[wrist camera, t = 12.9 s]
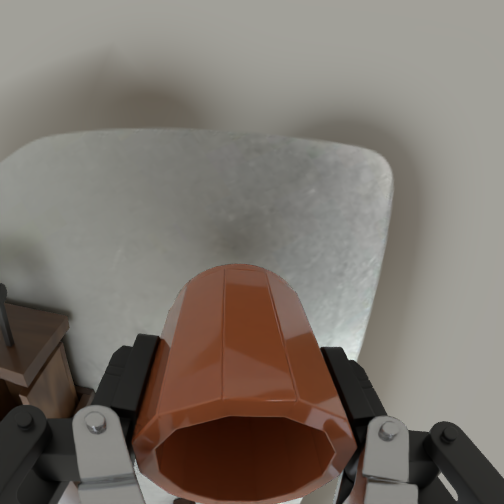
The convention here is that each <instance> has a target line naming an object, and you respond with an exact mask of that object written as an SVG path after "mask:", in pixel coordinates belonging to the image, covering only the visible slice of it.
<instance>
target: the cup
mask: <svg viewBox="0 0 504 504" xmlns="http://www.w3.org/2000/svg"><path fill="white" fill-rule="evenodd" d="M131 443H132V447H133V451H134V454H135V458H136V461H137V465H138V468H139V471H140V473H142V474H143V475H144V476H145V477H147V478H148V479H149V480H151V481H152V482H153V483H155V484H156V485H157V486H159V487H160V488H162V489H163V490H164V491H166V492H167V493H169V494H172V495H174V496H177V497H181V498H184V499H187V500H191V501H194V502H198V503H201V504H277V503H282V502H286V501H290V500H293V499H297V498H301V497H304V496H306V495H308V494H309V493H311V492H313V491H315V490H316V489H318V488H320V487H322V486H323V485H325V484H327V483H328V482H330V481H331V480H333V479H335V478H336V477H338V476H339V475H340V474H341V473H342V471H343V470H344V468H345V467H346V465H347V464H348V462H349V461H350V459H351V458H352V456H353V454H354V453H355V451H356V449H357V447H358V445H357V443H356V440H355V437H354V435H353V432H352V429H351V426H350V424H349V421H348V418H347V416H346V413H345V411H344V408H343V406H342V403H341V401H340V398H339V395H338V393H337V390H336V388H335V385H334V383H333V380H332V378H331V375H330V373H329V370H328V368H327V365H326V363H325V360H324V358H323V355H322V353H321V350H320V348H319V346H318V343H317V341H316V338H315V336H314V333H313V331H312V328H311V326H310V324H309V321H308V319H307V316H306V314H305V311H304V309H303V307H302V304H301V302H300V299H299V297H298V295H297V293H296V292H295V291H294V290H293V288H292V287H291V286H290V285H289V284H288V283H287V282H286V281H285V280H284V279H282V278H281V277H280V276H278V275H277V274H275V273H273V272H271V271H269V270H267V269H264V268H261V267H258V266H254V265H247V264H227V265H222V266H217V267H214V268H211V269H208V270H206V271H204V272H202V273H200V274H198V275H197V276H195V277H194V278H192V279H191V280H190V281H189V282H188V283H186V284H185V285H184V287H183V288H182V289H181V290H180V292H179V293H178V295H177V297H176V298H175V301H174V303H173V306H172V307H171V308H170V310H169V312H168V315H167V318H166V321H165V324H164V328H163V331H162V334H161V337H160V341H159V344H158V347H157V350H156V354H155V357H154V361H153V364H152V367H151V371H150V374H149V378H148V381H147V385H146V389H145V392H144V396H143V399H142V403H141V407H140V411H139V414H138V418H137V422H136V426H135V430H134V434H133V438H132V442H131Z"/></svg>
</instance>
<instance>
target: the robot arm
mask: <svg viewBox="0 0 504 504" xmlns="http://www.w3.org/2000/svg"><path fill="white" fill-rule="evenodd" d="M159 341H160V337H159V336H155V335H147V334H138V335H137V337H136V340H135V342H134V345H133V347H130V346H124V345H123V346H122V347H121V348H119V349H118V350H117V351H116V352H115V353H113V355H112V358H111V360H110V362H109V366H107V368H106V371H105V374H104V375H103V377H102V380H101V382H100V384H99V387H98V389H97V391H96V393H95V396H94V398H93V400H92V403H91V405H90V406H86V407H84V408H82V409H80V410H79V411H78V412H77V413H76V414H75V415H74V417H72V418H46V416H45V414H44V413H43V411H42V410H40V409H39V408H38V407H35V406H32V405H20V406H17V407H15V408H13V409H12V410H11V411H10V412H9V413H8V414H7V415H6V416H5V417H4V419H3V420H2V421H1V422H0V504H58V502H59V500H60V499H61V497H62V495H63V493H64V491H65V490H66V488H67V486H68V484H69V483H70V481H80V483H78V494H79V499H80V504H146V503H145V500H144V497H143V495H142V492H141V489H140V486H139V483H138V480H137V477H136V474H135V471H134V468H133V467H134V462H135V454H134V451H133V447H132V443H131V442H132V438H133V434H134V430H135V426H136V422H137V418H138V414H139V411H140V407H141V403H142V399H143V396H144V392H145V389H146V385H147V381H148V378H149V374H150V371H151V367H152V364H153V361H154V357H155V354H156V350H157V347H158V344H159ZM320 350H321V353H322V355H323V358H324V360H325V363H326V365H327V368H328V370H329V373H330V375H331V378H332V380H333V383H334V385H335V388H336V390H337V393H338V395H339V398H340V401H341V403H342V406H343V408H344V411H345V413H346V416H347V418H348V421H349V424H350V426H351V429H352V432H353V435H354V437H355V440H356V443H357V445H358V447H357V449H356V451H355V453H354V454H353V456H352V458H351V459H350V461H349V462H348V464H347V465H346V467H345V468H344V470H343V471H342V473H341V474H340V475H339V479H338V483H337V487H336V492H335V496H334V500H333V504H504V478H503V477H502V476H501V475H500V474H499V472H498V471H497V470H496V469H495V468H494V467H493V466H492V464H491V463H490V462H489V461H488V460H487V458H486V457H485V456H484V455H483V454H482V453H481V451H480V450H479V449H478V448H477V447H476V446H475V445H474V444H473V442H472V441H471V440H470V439H469V438H468V437H467V435H466V434H465V433H464V432H463V431H462V430H461V429H460V428H459V427H458V426H457V425H455V424H453V423H450V422H445V421H443V422H438V423H436V424H435V425H434V426H433V427H432V428H431V430H430V431H429V432H422V431H411V430H408V429H407V427H406V426H405V424H404V423H403V422H401V421H400V420H398V419H397V418H394V417H391V416H388V415H387V413H386V411H385V409H384V407H383V405H382V403H381V401H380V399H379V397H378V395H377V394H376V392H375V390H374V388H372V387H373V386H372V384H371V382H370V380H368V376H367V375H366V373H365V371H364V369H363V368H362V367H361V366H360V365H359V364H358V363H356V362H355V361H354V360H348V358H347V356H346V354H345V352H344V350H343V349H342V348H341V347H321V348H320ZM441 472H442V473H443V475H444V476H445V477H446V479H447V480H448V481H449V483H450V484H451V485H452V487H453V488H454V489H455V490H456V492H457V494H458V501H455V499H454V498H453V497H452V495H451V494H450V493H449V492H448V490H447V489H446V488H445V486H444V485H443V483H442V482H441V481H440V479H439V478H438V475H439V474H440V473H441Z"/></svg>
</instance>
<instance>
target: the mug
mask: <svg viewBox="0 0 504 504" xmlns="http://www.w3.org/2000/svg"><path fill="white" fill-rule="evenodd" d="M173 504H196V502H194V501H191V500H187V499H184V498H182V499H178V500H174V502H173Z"/></svg>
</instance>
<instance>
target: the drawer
mask: <svg viewBox="0 0 504 504" xmlns="http://www.w3.org/2000/svg"><path fill="white" fill-rule="evenodd" d="M6 297H7V290H6V287H5V285H4V284H2V283H0V422H1V421H2V420H3V419H4V417H5V416H6V415H7V414H8V413H9V412H10V411H11V410H12V409H13V408H15V407H17V406H20V405H32V406H35V407H38V408H39V409H40V410H42V411H43V413H44V414H45V416H46V418H72V417H73V415H74V412H75V410H76V408H77V406H78V404H79V400H78V396H77V393H76V390H75V387H74V383H73V380H72V376H71V373H70V369H69V365H68V361H67V357H66V353H65V349H64V345H63V342H60V340H61V339H62V337H63V336H64V334H65V333H66V332H67V330H68V329H69V322H68V316H66V315H61V314H56V313H50V312H45V311H40V310H35V309H31V308H26V307H21V306H17V305H12V304H8V303H4V302H5V300H6Z"/></svg>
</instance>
